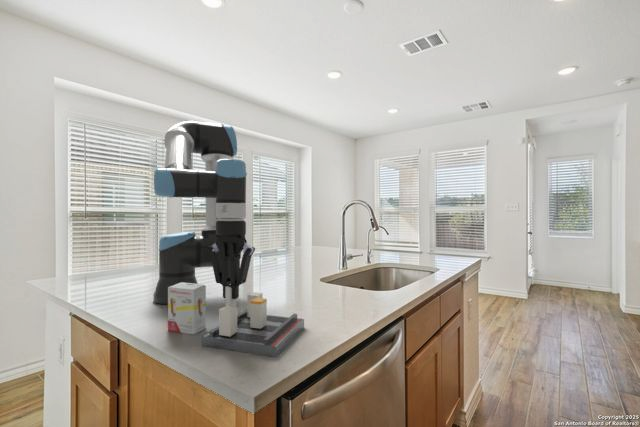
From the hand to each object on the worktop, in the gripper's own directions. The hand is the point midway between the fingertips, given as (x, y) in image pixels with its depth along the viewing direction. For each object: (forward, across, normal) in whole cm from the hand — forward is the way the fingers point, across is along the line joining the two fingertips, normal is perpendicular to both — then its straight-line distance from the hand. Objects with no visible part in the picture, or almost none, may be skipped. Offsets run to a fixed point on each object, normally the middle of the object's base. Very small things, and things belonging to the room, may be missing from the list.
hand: (230, 310), depth 82 cm
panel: (+6, +7, 0) cm, 9 cm away
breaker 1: (+3, +3, -6) cm, 8 cm away
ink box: (+6, -12, -2) cm, 14 cm away
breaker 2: (+3, +3, +7) cm, 8 cm away
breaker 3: (+3, +8, 0) cm, 8 cm away
